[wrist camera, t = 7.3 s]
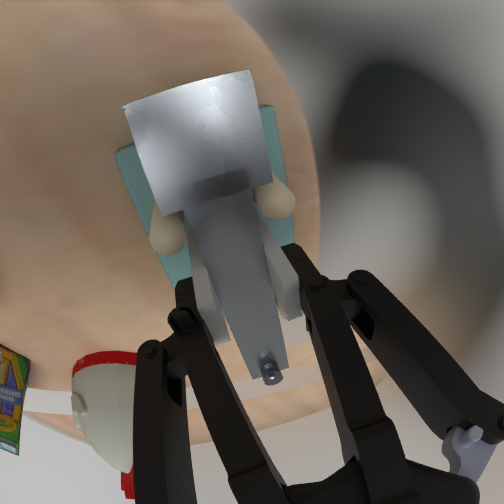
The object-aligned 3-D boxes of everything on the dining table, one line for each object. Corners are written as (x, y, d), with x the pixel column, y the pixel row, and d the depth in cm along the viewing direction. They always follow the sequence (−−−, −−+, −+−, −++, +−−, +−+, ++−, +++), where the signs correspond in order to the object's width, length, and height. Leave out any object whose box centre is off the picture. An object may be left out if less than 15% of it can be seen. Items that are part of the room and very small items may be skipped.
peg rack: (117, 150, 15) (92, 182, 10) (268, 104, 16) (310, 116, 11) (193, 318, 25) (203, 373, 20) (296, 284, 26) (323, 332, 21)
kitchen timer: (67, 390, 27) (65, 492, 15) (82, 335, 23) (73, 483, 11) (158, 412, 34) (173, 504, 22) (201, 368, 30) (230, 490, 18)
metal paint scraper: (138, 101, 12) (116, 107, 7) (229, 75, 12) (259, 67, 8) (229, 341, 24) (244, 395, 19) (282, 323, 24) (306, 374, 20)
